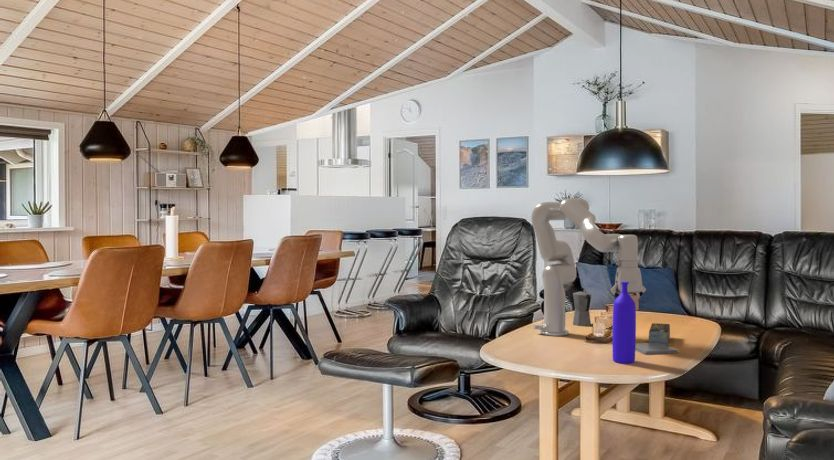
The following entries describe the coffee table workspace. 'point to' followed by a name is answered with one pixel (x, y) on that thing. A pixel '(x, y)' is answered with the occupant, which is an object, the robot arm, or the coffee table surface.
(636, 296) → the cube
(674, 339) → the coffee table surface
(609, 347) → the coffee table surface
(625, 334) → the bottle
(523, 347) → the coffee table surface
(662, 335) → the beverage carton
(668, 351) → the coaster
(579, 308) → the coffeepot
